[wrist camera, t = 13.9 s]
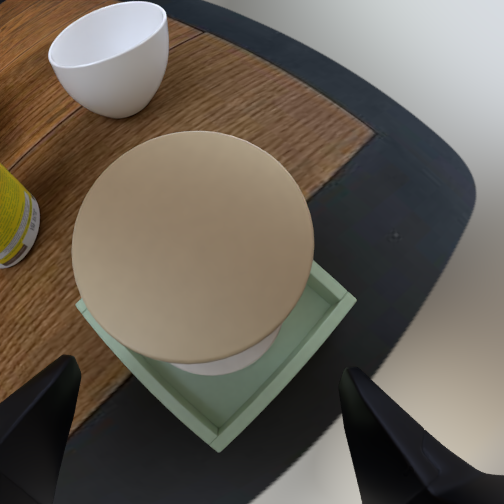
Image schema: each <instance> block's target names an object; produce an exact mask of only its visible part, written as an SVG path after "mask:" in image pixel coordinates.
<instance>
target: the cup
mask: <svg viewBox="0 0 504 504" xmlns="http://www.w3.org/2000/svg"><path fill="white" fill-rule="evenodd" d="M168 55H169V34H168V25H167V17H166V12H165V11H164V9H163V8H162V7H160V6H158V5H156V4H153V3H149V2H141V1H134V2H124V3H118V4H114V5H110V6H107V7H104V8H101V9H98V10H96V11H93V12H91V13H89V14H87V15H85V16H83V17H82V18H80V19H78V20H77V21H75V22H74V23H72V24H71V25H69V26H68V27H67V28H66V29H65V30H63V31H62V32H61V33H60V34H59V35H58V37H57V38H56V39H55V40H54V42H53V43H52V45H51V47H50V49H49V53H48V58H49V61H50V63H51V65H52V68H53V70H54V72H55V74H56V76H57V78H58V80H59V81H60V83H61V85H62V86H63V88H64V89H65V90H66V92H67V93H68V94H69V95H70V96H71V97H72V98H73V99H74V100H75V101H77V102H78V103H79V104H80V105H82V106H83V107H85V108H86V109H88V110H90V111H92V112H94V113H96V114H99V115H102V116H106V117H110V118H125V117H129V116H131V115H134V114H136V113H138V112H139V111H141V110H142V109H143V108H145V107H146V106H147V104H148V103H149V102H150V100H151V99H152V98H153V96H154V94H155V93H156V91H157V90H158V88H159V86H160V84H161V81H162V79H163V76H164V73H165V70H166V66H167V62H168Z"/></svg>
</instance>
